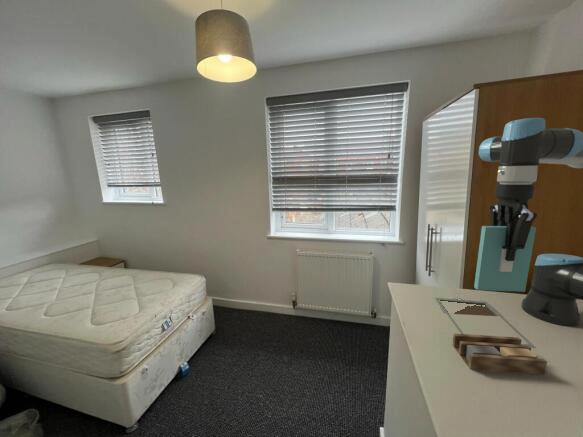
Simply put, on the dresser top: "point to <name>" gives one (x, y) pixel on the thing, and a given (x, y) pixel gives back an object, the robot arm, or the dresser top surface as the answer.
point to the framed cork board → (477, 313)
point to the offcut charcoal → (481, 350)
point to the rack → (497, 361)
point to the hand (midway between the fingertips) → (502, 269)
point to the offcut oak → (516, 352)
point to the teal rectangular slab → (490, 261)
